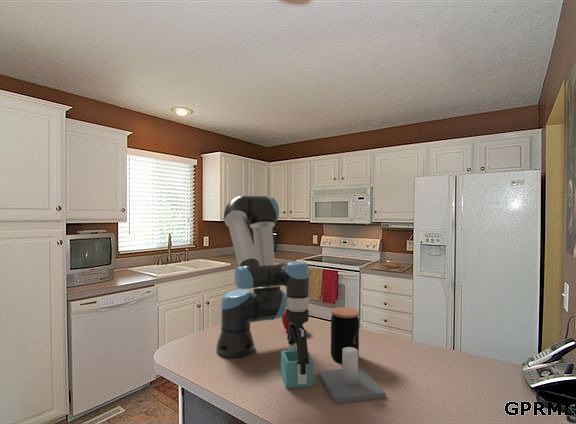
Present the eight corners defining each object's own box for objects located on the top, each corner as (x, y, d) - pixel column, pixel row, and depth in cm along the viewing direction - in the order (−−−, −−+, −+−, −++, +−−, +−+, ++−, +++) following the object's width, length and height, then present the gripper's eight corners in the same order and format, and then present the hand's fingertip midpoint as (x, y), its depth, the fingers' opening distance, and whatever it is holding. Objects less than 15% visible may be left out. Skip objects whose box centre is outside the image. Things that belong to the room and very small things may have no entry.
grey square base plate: (318, 375, 106) (318, 342, 106) (361, 371, 109) (362, 338, 110) (335, 403, 91) (335, 364, 91) (385, 397, 94) (385, 359, 94)
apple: (306, 330, 148) (306, 307, 148) (293, 336, 140) (293, 312, 140) (290, 325, 154) (290, 303, 154) (277, 330, 147) (277, 307, 147)
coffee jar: (359, 365, 114) (359, 316, 114) (329, 362, 116) (330, 314, 116) (358, 353, 124) (358, 308, 124) (331, 350, 126) (331, 306, 126)
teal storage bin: (280, 374, 107) (281, 350, 107) (305, 371, 109) (306, 348, 109) (286, 388, 98) (286, 363, 98) (313, 385, 100) (313, 360, 100)
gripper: (319, 319, 92) (319, 392, 92) (299, 298, 117) (298, 355, 116) (295, 321, 91) (294, 394, 90) (279, 299, 115) (279, 357, 115)
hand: (297, 373), depth 103 cm, fingers open, 13 cm apart
